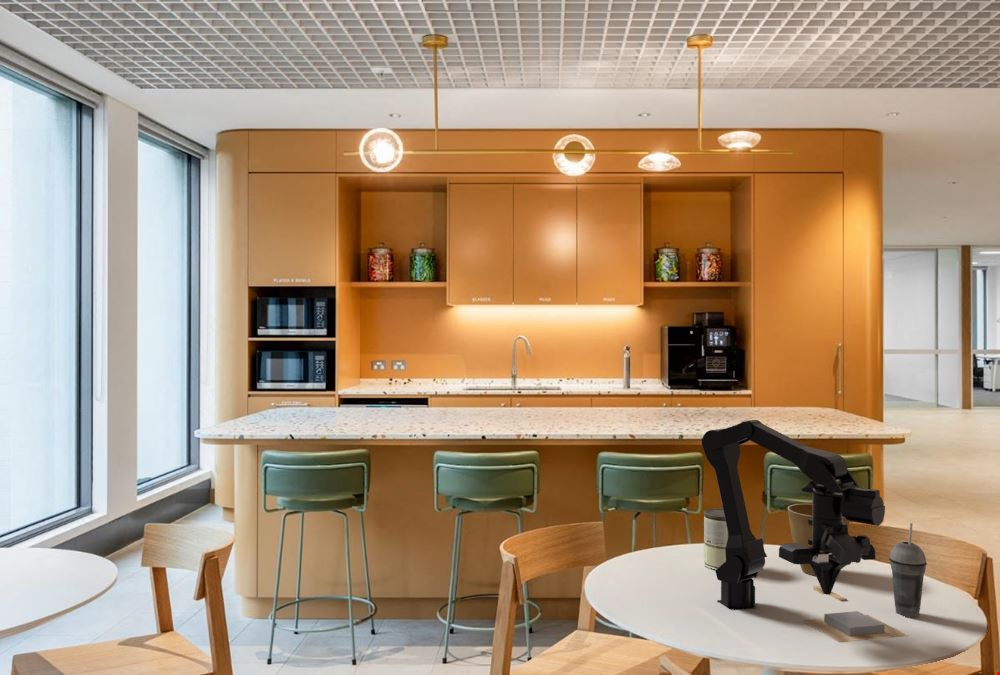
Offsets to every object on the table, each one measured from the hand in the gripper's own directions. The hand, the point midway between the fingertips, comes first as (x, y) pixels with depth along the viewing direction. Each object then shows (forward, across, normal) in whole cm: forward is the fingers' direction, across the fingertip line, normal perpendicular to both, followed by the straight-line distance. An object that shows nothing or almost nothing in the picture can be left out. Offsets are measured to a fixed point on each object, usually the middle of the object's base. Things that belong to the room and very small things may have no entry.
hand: (826, 594), depth 160 cm
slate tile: (+6, +2, 0) cm, 7 cm away
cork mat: (+8, +6, 0) cm, 10 cm away
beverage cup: (+8, +24, +6) cm, 27 cm away
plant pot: (+8, +24, +37) cm, 45 cm away
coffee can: (+8, +4, +47) cm, 48 cm away
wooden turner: (+8, +16, +16) cm, 24 cm away
